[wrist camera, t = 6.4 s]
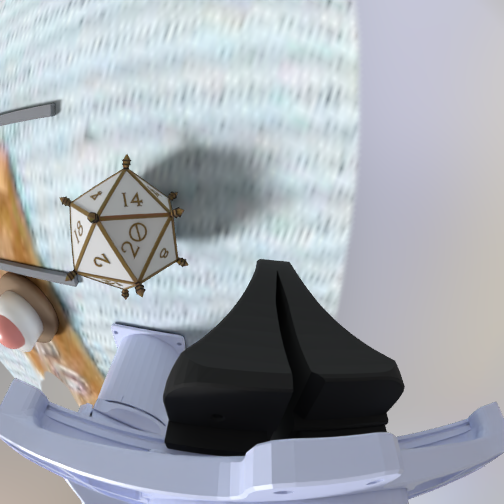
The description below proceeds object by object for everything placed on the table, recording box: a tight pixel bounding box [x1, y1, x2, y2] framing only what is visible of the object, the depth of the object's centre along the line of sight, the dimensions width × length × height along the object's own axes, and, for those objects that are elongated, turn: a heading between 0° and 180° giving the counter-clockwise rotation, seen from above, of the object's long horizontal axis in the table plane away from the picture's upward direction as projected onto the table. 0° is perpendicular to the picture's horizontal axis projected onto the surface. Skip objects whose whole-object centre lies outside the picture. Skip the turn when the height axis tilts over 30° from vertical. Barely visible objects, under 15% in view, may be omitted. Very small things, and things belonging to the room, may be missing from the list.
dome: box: [0, 291, 43, 352], centre depth 24 cm, size 7×7×5 cm
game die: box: [60, 155, 188, 300], centre depth 17 cm, size 9×8×10 cm
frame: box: [0, 103, 78, 287], centre depth 20 cm, size 17×15×1 cm
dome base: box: [0, 272, 59, 343], centre depth 27 cm, size 10×10×2 cm
